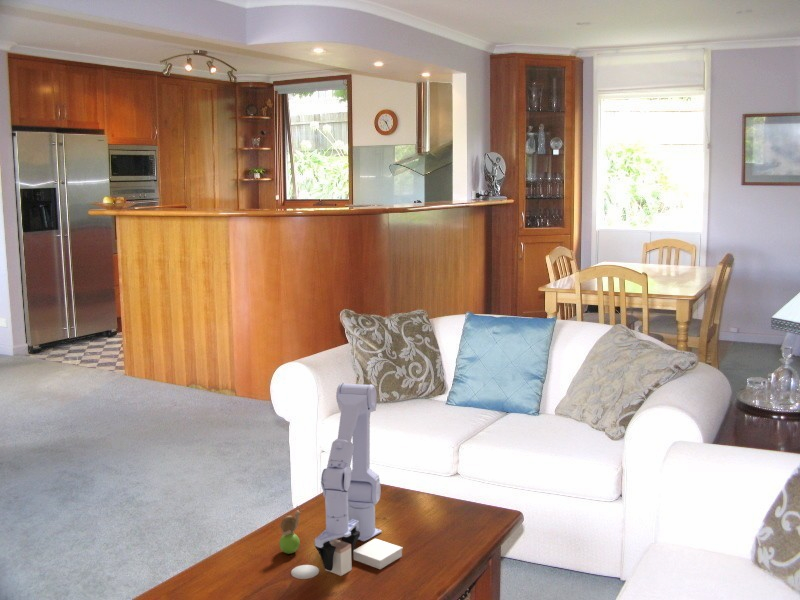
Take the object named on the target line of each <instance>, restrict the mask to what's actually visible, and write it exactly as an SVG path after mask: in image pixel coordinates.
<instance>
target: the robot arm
mask: <svg viewBox="0 0 800 600" xmlns="http://www.w3.org/2000/svg"><path fill="white" fill-rule="evenodd" d="M335 396H336V397H335V398H336V399H335V400H336V403H337V407H338V410H339V411H340V416H339V426H338V434H337V438H336V439H335V440H333V442H331V446H330V447H331V448H330V452H329V457H328V460H327V464H326V465H327V466H326V468H324V469H322V472H321V479H320V480H321V481H320V485H321V489H322V496H323V497H324V504H325V508H324V509H325V529H324V530H323V531H322V532H321V533H320V534H319V535H318V536H317V537H315V538H314V547H315V549H316V551H317V553H318V554H319V556H320V559H321V561H322V564H323V568H324V570H325V569H326V570H325V571H327V570H329V571H328V572H330V571H331V570H332V568H333V555H334V551H335V549H336V547H335V546H332V545H331V543H330V541H332V540H334V539H340V538H341V539H340V540H341V541H344V542H346V543H349V544H351V560H352V559H353V556H354V553H353V551H354V550H355V546H356V545H357V541H361V542H367V541H368V540H370V539H372V538H374V537H375V536H377V535H379V534H381V533H382V531H383V530H382V529H379V528H376V505H377V504H378V503H379V501H380V498H381V495H382V494H381V493H382V491H381V488H382V487H381V481H380V476H379V474H378V473H376V472H375V471H373V470H372V469H371V468H370V466H371V465H370V457H371V456H370V445H371V444H370V443H371V442H370V437H371V436H370V435H371V434H370V433H371V432H370V431H371V430H370V428H371V426H370V424H371V421H370V419H371V413H373V412H375V411H376V410H377V389H376V387H375V386H374V384H371V383H370V384H359V383H344V382H340V383H339V384H338V385H337V388H336V395H335ZM351 464H352V468H351Z"/></svg>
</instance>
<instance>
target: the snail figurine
mask: <svg viewBox="0 0 800 600" xmlns="http://www.w3.org/2000/svg"><path fill="white" fill-rule="evenodd" d="M296 508H297V510H295V511H294V516H292V515H286V516H285V517H283V518H282V519H281V522H280V528H281V530H282V531H281V535H282V536H281V537H280V539H279V543H278V544H279V548H280V550H281V551H282V552H283V553H285V554H294V553H295V552H297V551H298V550H299V548H300V545H301V544H300V543H301V542H300V541H301V540H300V538H299V536H298V535H297V534H296V533H294V532H295V531H296V530H297V528H298V525H299V521H300V514H301V512H300V510H299V509H301V506H299V505H296Z"/></svg>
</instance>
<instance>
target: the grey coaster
mask: <svg viewBox="0 0 800 600" xmlns="http://www.w3.org/2000/svg"><path fill="white" fill-rule="evenodd" d="M319 572H320V569H319V568H318V567H317V566H316V565H311V564H302V565H301V564H300V565H297V566H295V567H294V568H293V569H292V570H291V572H290V574H291V576H292V577H293V578H295V579H301V580H305V579H306V580H307V579H312V578H314V577H316V576H317V575H319Z"/></svg>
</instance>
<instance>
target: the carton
mask: <svg viewBox="0 0 800 600" xmlns="http://www.w3.org/2000/svg"><path fill="white" fill-rule="evenodd" d="M330 543H331V545H332V546H335V547H336V549H335V551H334V555H333V568H332V570H331V571H329V570H326V569H325V568H324V570H325V571H327V572H330V573H333V574H334V575H338V576H340V577H342V576H343V575H345V574H347V573H349V572H351V571H352V570H353V569H352V568H353V567H352V559H351V544H349V543H346V542H344V541H342V539H339V538H337V539H334V540H332V541H330Z"/></svg>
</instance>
